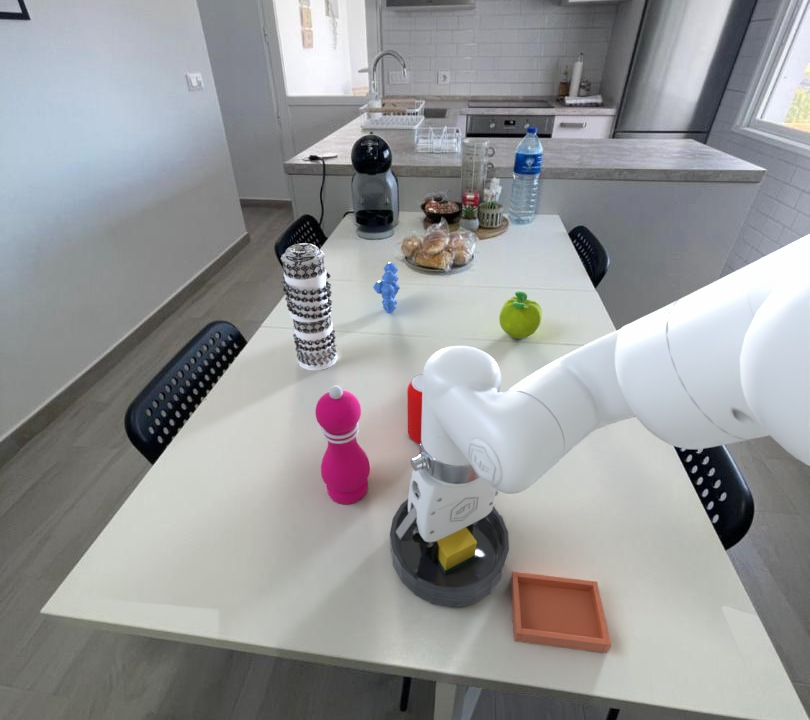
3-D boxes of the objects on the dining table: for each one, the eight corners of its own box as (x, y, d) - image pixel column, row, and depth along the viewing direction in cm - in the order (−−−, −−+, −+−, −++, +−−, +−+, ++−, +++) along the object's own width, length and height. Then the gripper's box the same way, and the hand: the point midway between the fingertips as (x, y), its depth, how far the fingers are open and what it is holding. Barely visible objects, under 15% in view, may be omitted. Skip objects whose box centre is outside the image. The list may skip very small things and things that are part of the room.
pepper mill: (365, 464, 72) (356, 365, 61) (376, 500, 67) (369, 398, 55) (320, 475, 71) (303, 375, 59) (328, 513, 65) (310, 411, 53)
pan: (529, 573, 57) (534, 555, 55) (427, 632, 52) (427, 616, 49) (463, 488, 68) (465, 470, 66) (372, 529, 63) (371, 512, 60)
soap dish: (593, 589, 56) (597, 581, 55) (606, 653, 50) (611, 645, 49) (510, 579, 57) (512, 571, 56) (514, 641, 51) (516, 633, 50)
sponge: (474, 559, 58) (477, 542, 56) (445, 575, 57) (446, 557, 54) (446, 518, 63) (447, 500, 61) (418, 531, 62) (418, 513, 59)
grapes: (377, 297, 119) (375, 254, 112) (402, 298, 119) (401, 255, 112) (370, 319, 110) (368, 274, 103) (398, 320, 110) (397, 275, 103)
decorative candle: (302, 346, 101) (284, 238, 86) (343, 347, 100) (331, 239, 85) (290, 370, 93) (268, 257, 79) (334, 372, 92) (320, 258, 78)
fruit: (493, 342, 101) (498, 303, 96) (501, 322, 108) (506, 284, 103) (534, 349, 99) (542, 310, 93) (540, 329, 106) (547, 291, 100)
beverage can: (409, 450, 75) (409, 395, 68) (406, 424, 80) (405, 371, 73) (445, 447, 75) (448, 393, 68) (440, 422, 80) (442, 369, 73)
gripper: (402, 507, 43) (403, 599, 54) (537, 447, 50) (513, 540, 60) (370, 455, 49) (377, 548, 59) (495, 406, 55) (481, 499, 66)
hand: (446, 543), depth 60 cm, fingers closed on sponge, 4 cm apart
